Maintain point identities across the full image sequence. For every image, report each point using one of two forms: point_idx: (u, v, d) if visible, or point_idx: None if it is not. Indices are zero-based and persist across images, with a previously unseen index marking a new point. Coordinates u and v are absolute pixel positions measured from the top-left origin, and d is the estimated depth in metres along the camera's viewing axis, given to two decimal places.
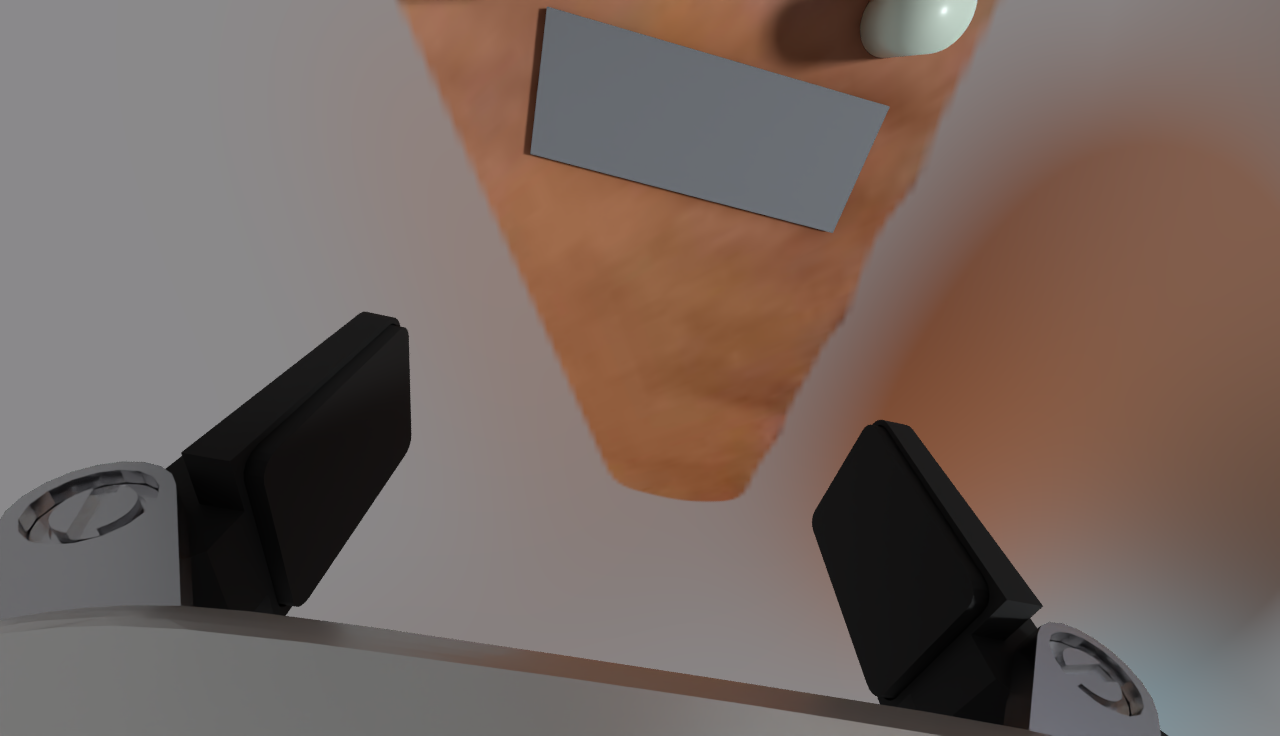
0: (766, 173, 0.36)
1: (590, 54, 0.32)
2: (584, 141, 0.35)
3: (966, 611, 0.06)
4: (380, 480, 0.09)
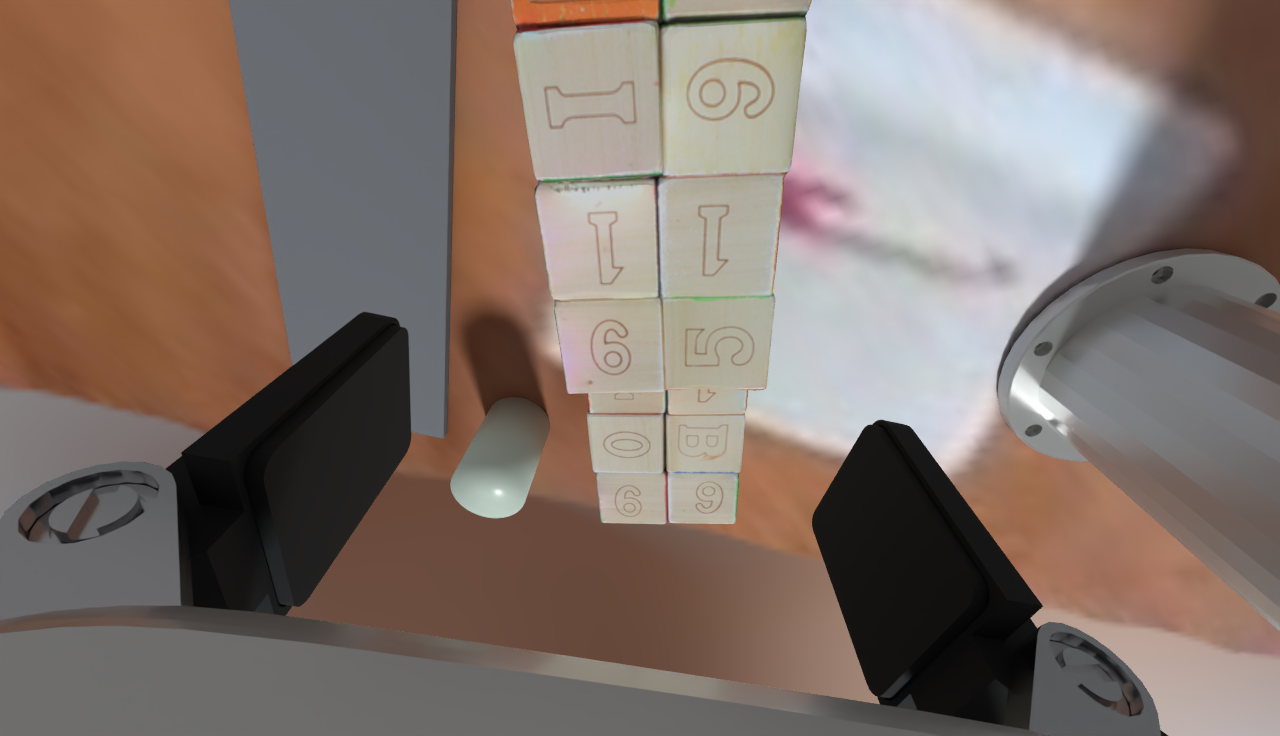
0: (336, 326, 0.27)
1: (405, 53, 0.20)
2: (276, 34, 0.20)
3: (966, 611, 0.06)
4: (380, 480, 0.09)
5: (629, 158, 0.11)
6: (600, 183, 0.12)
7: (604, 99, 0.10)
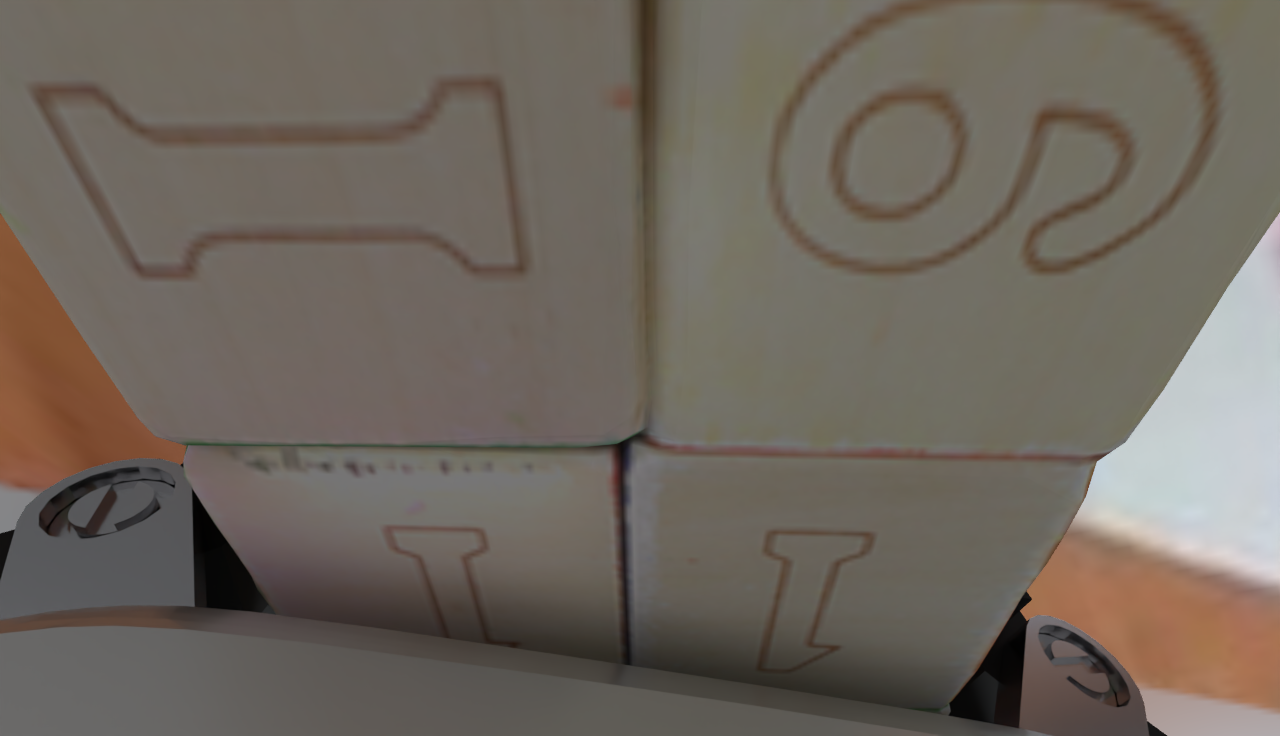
0: None
1: None
2: None
3: None
4: None
5: (509, 396, 0.03)
6: (413, 454, 0.03)
7: (362, 166, 0.02)
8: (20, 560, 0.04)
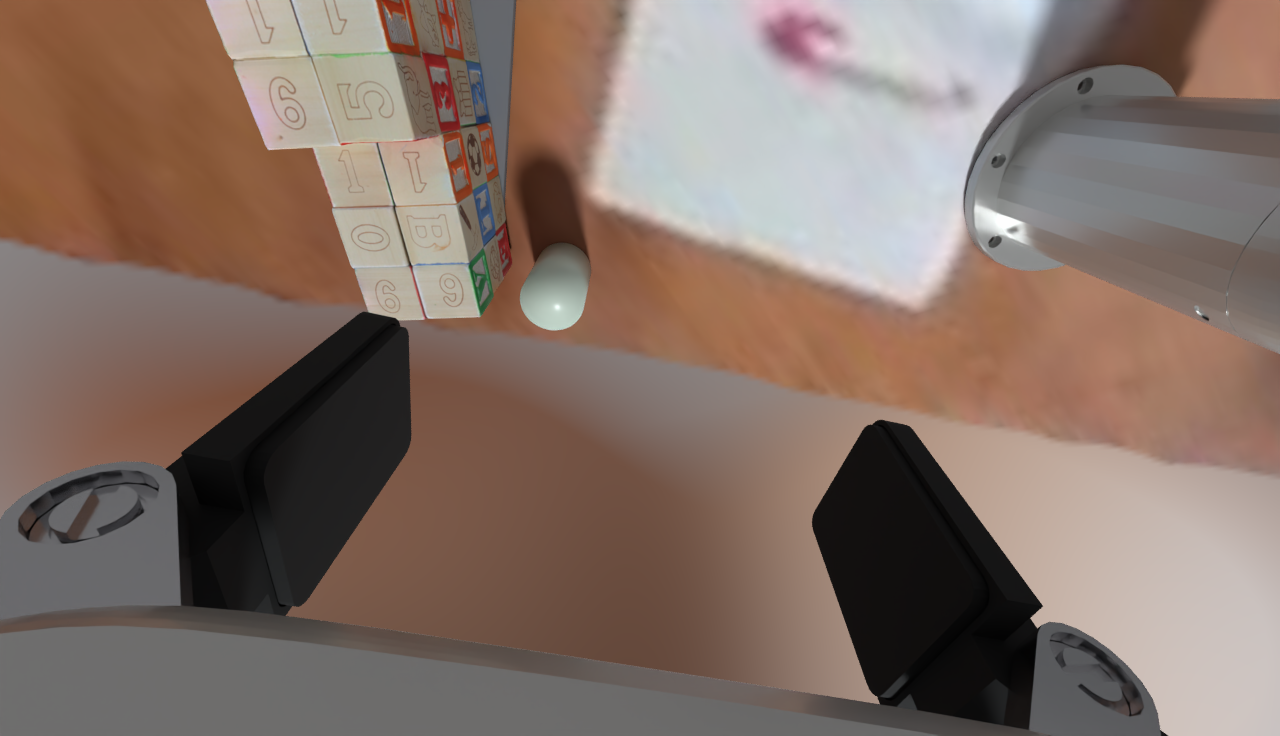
0: None
1: None
2: None
3: (966, 611, 0.06)
4: (380, 480, 0.09)
5: None
6: None
7: None
8: None
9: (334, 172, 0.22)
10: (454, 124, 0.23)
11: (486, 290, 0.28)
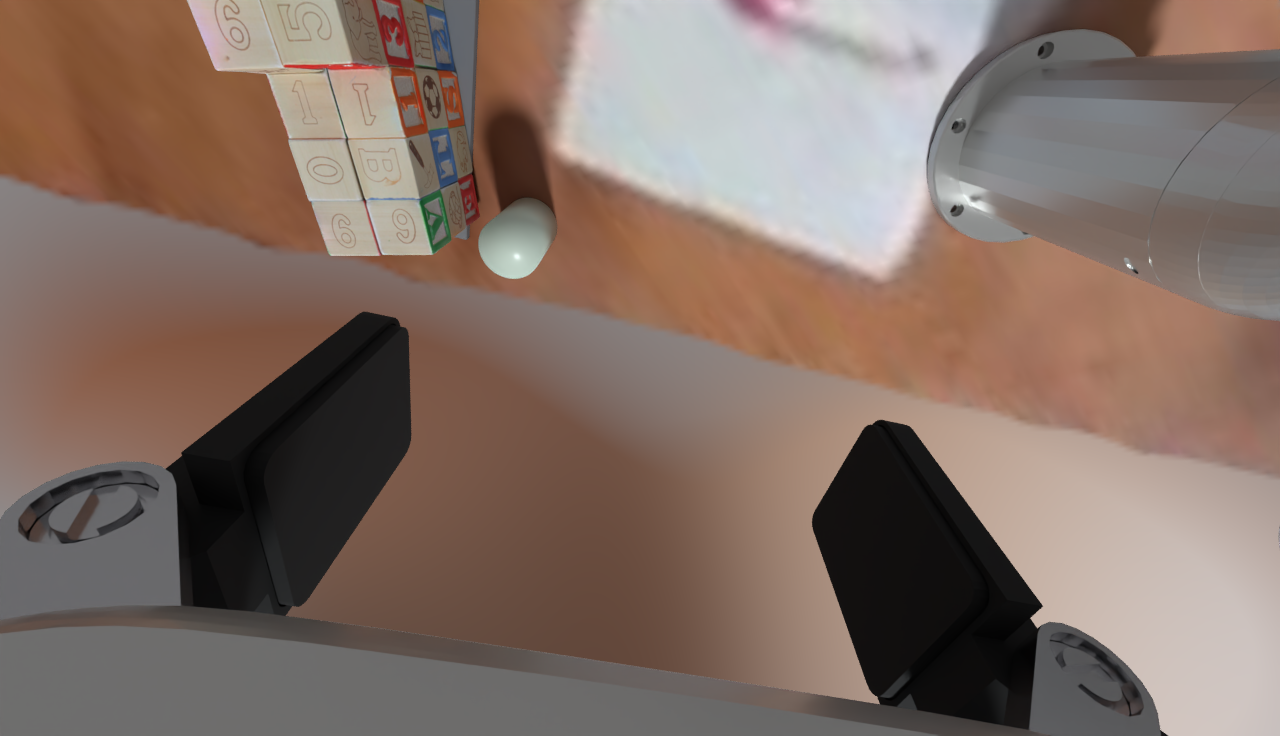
0: None
1: None
2: None
3: (966, 611, 0.06)
4: (380, 480, 0.09)
5: None
6: None
7: None
8: None
9: (289, 103, 0.23)
10: (405, 61, 0.24)
11: (442, 232, 0.29)
